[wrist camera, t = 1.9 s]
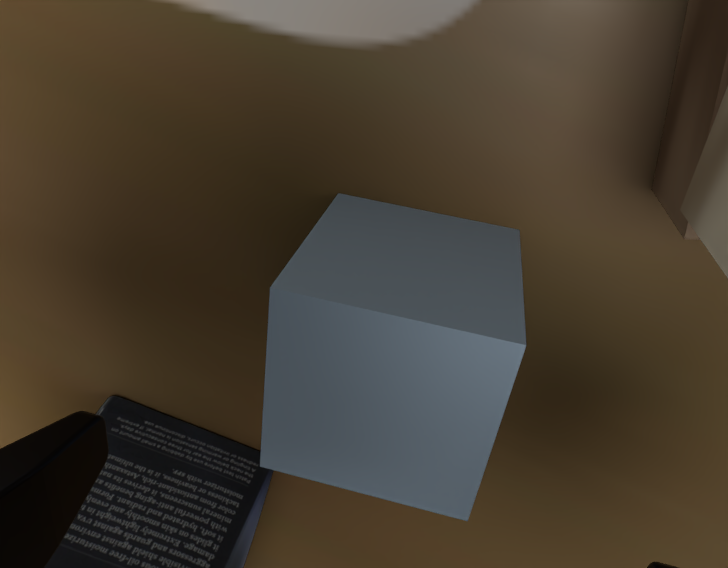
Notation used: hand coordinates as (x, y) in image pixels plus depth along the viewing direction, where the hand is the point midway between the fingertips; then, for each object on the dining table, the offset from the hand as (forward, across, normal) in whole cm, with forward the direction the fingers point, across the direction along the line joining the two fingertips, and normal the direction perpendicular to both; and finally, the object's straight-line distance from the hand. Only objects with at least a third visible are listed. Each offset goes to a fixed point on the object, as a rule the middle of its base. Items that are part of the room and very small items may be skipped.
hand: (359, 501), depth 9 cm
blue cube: (+7, 0, 0) cm, 7 cm away
